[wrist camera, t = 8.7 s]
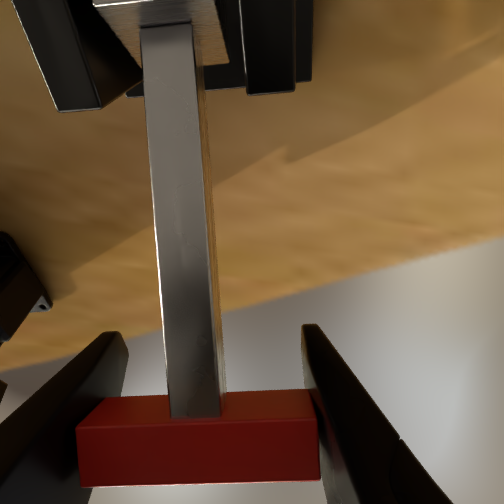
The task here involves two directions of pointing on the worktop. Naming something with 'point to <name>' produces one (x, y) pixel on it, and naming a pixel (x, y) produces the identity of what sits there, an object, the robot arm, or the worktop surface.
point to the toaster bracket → (130, 74)
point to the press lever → (189, 291)
